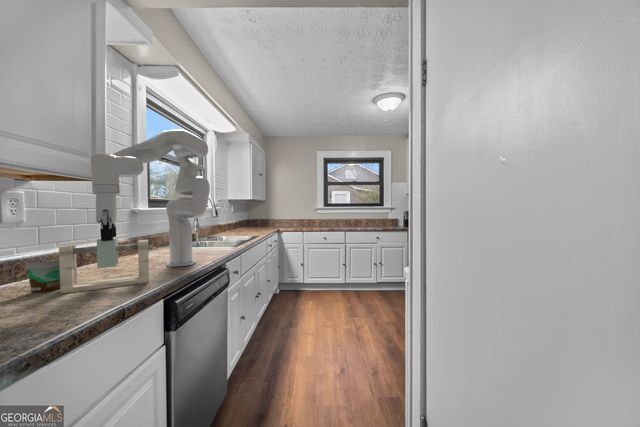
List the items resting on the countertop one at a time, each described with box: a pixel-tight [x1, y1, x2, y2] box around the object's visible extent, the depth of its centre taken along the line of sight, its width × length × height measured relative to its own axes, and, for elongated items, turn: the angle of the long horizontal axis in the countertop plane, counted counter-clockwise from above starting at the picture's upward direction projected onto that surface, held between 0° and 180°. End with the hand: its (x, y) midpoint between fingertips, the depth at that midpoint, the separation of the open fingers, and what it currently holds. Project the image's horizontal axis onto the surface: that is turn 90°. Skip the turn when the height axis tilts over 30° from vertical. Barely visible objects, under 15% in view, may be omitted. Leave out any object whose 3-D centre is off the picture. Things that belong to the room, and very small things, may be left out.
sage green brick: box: [96, 237, 119, 269], centre depth 96 cm, size 7×5×10 cm
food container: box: [24, 259, 60, 294], centre depth 93 cm, size 12×6×10 cm, turn 168°
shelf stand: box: [58, 239, 150, 295], centre depth 96 cm, size 6×24×15 cm, turn 121°
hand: (109, 238), depth 97 cm, fingers open, 9 cm apart
